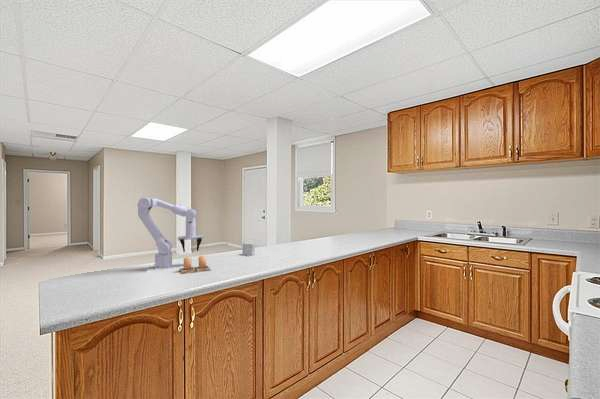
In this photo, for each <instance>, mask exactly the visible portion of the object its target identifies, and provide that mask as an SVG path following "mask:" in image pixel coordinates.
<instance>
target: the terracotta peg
mask: <svg viewBox="0 0 600 399" xmlns="http://www.w3.org/2000/svg"><path fill="white" fill-rule="evenodd" d="M206 265H207V256H205V255H201V256H198V266H199V269H203V268H206Z"/></svg>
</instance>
